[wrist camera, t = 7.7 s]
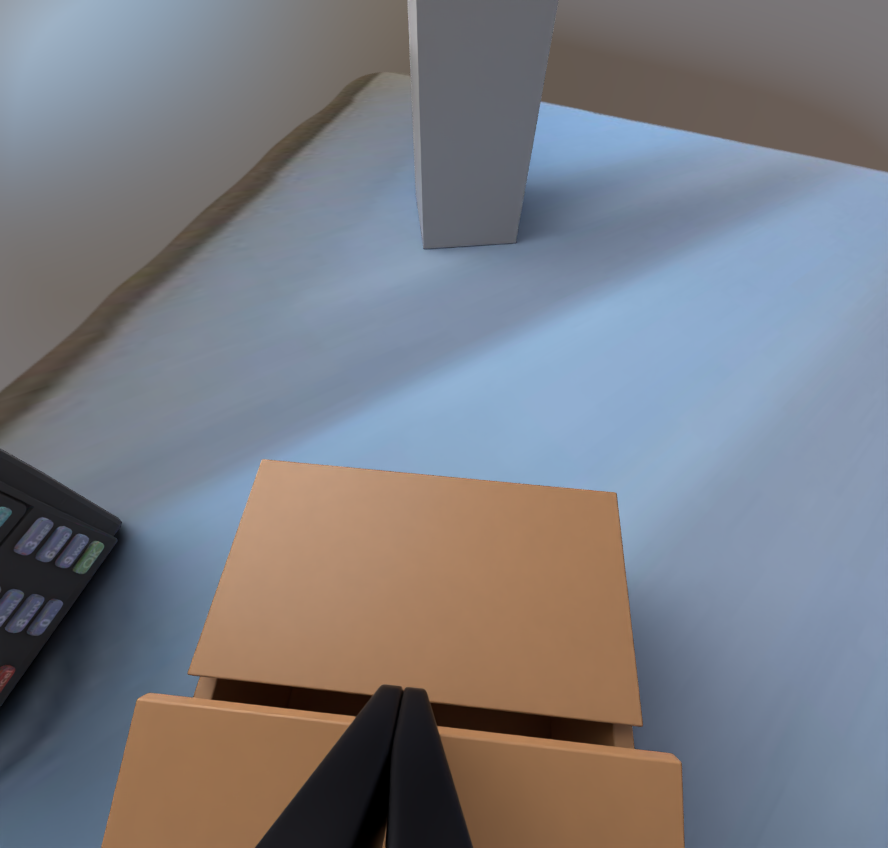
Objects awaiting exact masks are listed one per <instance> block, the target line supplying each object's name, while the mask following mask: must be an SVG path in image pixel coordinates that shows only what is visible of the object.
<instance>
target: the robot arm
mask: <svg viewBox="0 0 888 848" xmlns="http://www.w3.org/2000/svg"><path fill="white" fill-rule="evenodd" d="M385 832H386V841H385V848H473V845H472V841H471V838H470V835H469V831H468V828H467V825H466V821H465V818H464V815H463V811H462V808H461V804H460V801H459V798H458V794H457V791H456V788H455V784H454V781H453V778H452V774H451V771H450V768H449V764H448V761H447V758H446V754H445V751H444V747H443V744H442V741H441V737H440V734H439V731H438V727H437V724H436V721H435V717H434V714H433V711H432V707H431V704H430V701H429V697H428V694H427V692H426V690H425V689H423V688H414V687H406V688H405V689H404V690H403V688H402V687H401V686H397V685H388V684H383V685H381V686H380V687H379V688H378V689H377V691H376V692H375V693H374V694H373V696H372V697H371V698H370V700H369V701H368V702H367V703H366V705H365V706H364V707H363V709H362V710H361V711H360V712H359V714H358V715H357V716H356V718H355V719H354V720H353V722H352V723H351V724H350V725H349V727H348V728H347V729H346V731H345V732H344V733H343V734H342V736H341V737H340V738H339V740H338V741H337V742H336V743H335V745H334V746H333V747H332V749H331V750H330V751H329V752H328V754H327V755H326V756H325V758H324V759H323V760H322V762H321V763H320V764H319V765H318V767H317V768H316V769H315V771H314V772H313V773H312V774H311V776H310V777H309V778H308V780H307V781H306V782H305V783H304V785H303V786H302V787H301V789H300V790H299V791H298V792H297V794H296V795H295V796H294V798H293V799H292V800H291V802H290V803H289V804H288V805H287V807H286V808H285V809H284V811H283V812H282V813H281V814H280V816H279V817H278V818H277V820H276V821H275V822H274V823H273V825H272V826H271V827H270V829H269V830H268V831H267V832H266V834H265V835H264V836H263V838H262V839H261V840H260V841H259V843H258V844H257V845H256V847H255V848H382V847H383V842H384V838H385Z"/></svg>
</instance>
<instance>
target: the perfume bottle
mask: <svg viewBox="0 0 888 848" xmlns="http://www.w3.org/2000/svg"><path fill="white" fill-rule="evenodd" d="M557 5H558V0H408V22H409V46H410V70H411V94H412V118H413V141H414V165H415V188H416V199H417V206H418V213H419V220H420V227H421V234H422V241H423V248H424V249H430V248H445V247H461V246H476V245H492V244H507V243H516V238H517V233H518V227H519V221H520V215H521V210H522V204H523V198H524V193H525V187H526V181H527V176H528V170H529V164H530V159H531V153H532V147H533V142H534V136H535V130H536V124H537V119H538V113H539V107H540V102H541V96H542V90H543V85H544V78H545V73H546V68H547V62H548V56H549V50H550V45H551V39H552V33H553V28H554V21H555V16H556V10H557Z"/></svg>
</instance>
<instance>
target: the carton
mask: <svg viewBox="0 0 888 848" xmlns="http://www.w3.org/2000/svg"><path fill="white" fill-rule="evenodd" d="M188 675H193V676H200V678H199V681H198V684H197V687H196V690H195V693H194V696H193V698H200V699H209V700H217V701H226V702H235V703H243V704H252V705H260V706H269V707H278V708H286V709H295V710H303V711H312V712H320V713H329V714H338V715H346V716H355V717H356V716H357V715H358V714H359V712H360V711H361V710H362V709H363V707H364V706H365V705H366V703H367V702H368V701H369V700H370V698H371V697H372V696H373V694H374V693H375V692H376V691H377V689H378V688H379V687H380V686H381V685H383V684H388V685H397V686H401V687H402V688H403V690H404V689H405V688H406V687H414V688H423V689H425V690H426V692H427V694H428V697H429V701H430V704H431V707H432V711H433V714H434V717H435V721H436V724H437V726H441V727H449V728H458V729H467V730H475V731H484V732H492V733H501V734H510V735H518V736H527V737H535V738H544V739H553V740H561V741H570V742H578V743H587V744H595V745H604V746H613V747H621V748H630V749H635V748H634V738H633V728H632V726H638V727H642V726H643V721H642V712H641V703H640V694H639V686H638V677H637V668H636V659H635V651H634V642H633V633H632V624H631V616H630V607H629V598H628V589H627V580H626V572H625V563H624V554H623V545H622V537H621V528H620V519H619V510H618V502H617V494H616V493H614V492H604V491H593V490H582V489H572V488H561V487H551V486H540V485H530V484H519V483H508V482H498V481H487V480H477V479H466V478H456V477H445V476H434V475H424V474H413V473H403V472H392V471H382V470H371V469H360V468H350V467H339V466H329V465H318V464H308V463H297V462H286V461H276V460H265V459H262V461H261V463H260V466H259V469H258V472H257V475H256V478H255V481H254V484H253V486H252V489H251V492H250V495H249V498H248V501H247V504H246V507H245V509H244V512H243V515H242V518H241V521H240V524H239V527H238V530H237V532H236V535H235V538H234V541H233V544H232V547H231V550H230V553H229V555H228V558H227V561H226V564H225V567H224V570H223V573H222V576H221V578H220V581H219V584H218V587H217V590H216V593H215V596H214V599H213V601H212V604H211V607H210V610H209V613H208V616H207V619H206V622H205V624H204V627H203V630H202V633H201V636H200V639H199V642H198V645H197V647H196V650H195V653H194V656H193V659H192V662H191V665H190V668H189V670H188Z"/></svg>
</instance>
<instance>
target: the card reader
mask: <svg viewBox="0 0 888 848" xmlns="http://www.w3.org/2000/svg"><path fill="white" fill-rule="evenodd" d="M121 524H122V522H121V521H120V519H119V518H117V517H116V516H114V515H112V514H111V513H109V512H107V511H106V510H104V509H103V508H101V507H99V506H98V505H96V504H94V503H93V502H91V501H89V500H88V499H86V498H84V497H83V496H81V495H79V494H78V493H76V492H74V491H73V490H71V489H69V488H68V487H66V486H64V485H63V484H61V483H60V482H58V481H56V480H55V479H53V478H51V477H50V476H48V475H46V474H45V473H43V472H41V471H40V470H38V469H36V468H34V467H32V466H31V465H29V464H27V463H25V462H24V461H22V460H20V459H18V458H16V457H15V456H13V455H11V454H9V453H7V452H6V451H4V450H2V449H0V707H1V705H2V704H3V702H4V701H5V700H6V698H7V697H8V695H9V694H10V692H11V691H12V690H13V688H14V687H15V685H16V684H17V683H18V681H19V680H20V678H21V677H22V676H23V674H24V673H25V671H26V670H27V668H28V667H29V666H30V664H31V663H32V661H33V660H34V659H35V657H36V656H37V654H38V653H39V651H40V650H41V649H42V647H43V646H44V644H45V643H46V642H47V640H48V639H49V637H50V636H51V635H52V633H53V632H54V630H55V629H56V627H57V626H58V625H59V623H60V622H61V620H62V619H63V618H64V616H65V615H66V613H67V612H68V611H69V609H70V608H71V606H72V605H73V603H74V602H75V601H76V599H77V598H78V596H79V595H80V594H81V592H82V591H83V589H84V588H85V586H86V585H87V584H88V582H89V581H90V579H91V578H92V577H93V575H94V574H95V572H96V571H97V570H98V568H99V567H100V565H101V564H102V562H103V561H104V560H105V558H106V557H107V555H108V554H109V553H110V551H111V550H112V548H113V547H114V546H115V544H116V543H117V539H116V538H115V537H114V535H115V534H116V532H117V531H118V529H119V528H120V527H121Z"/></svg>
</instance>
